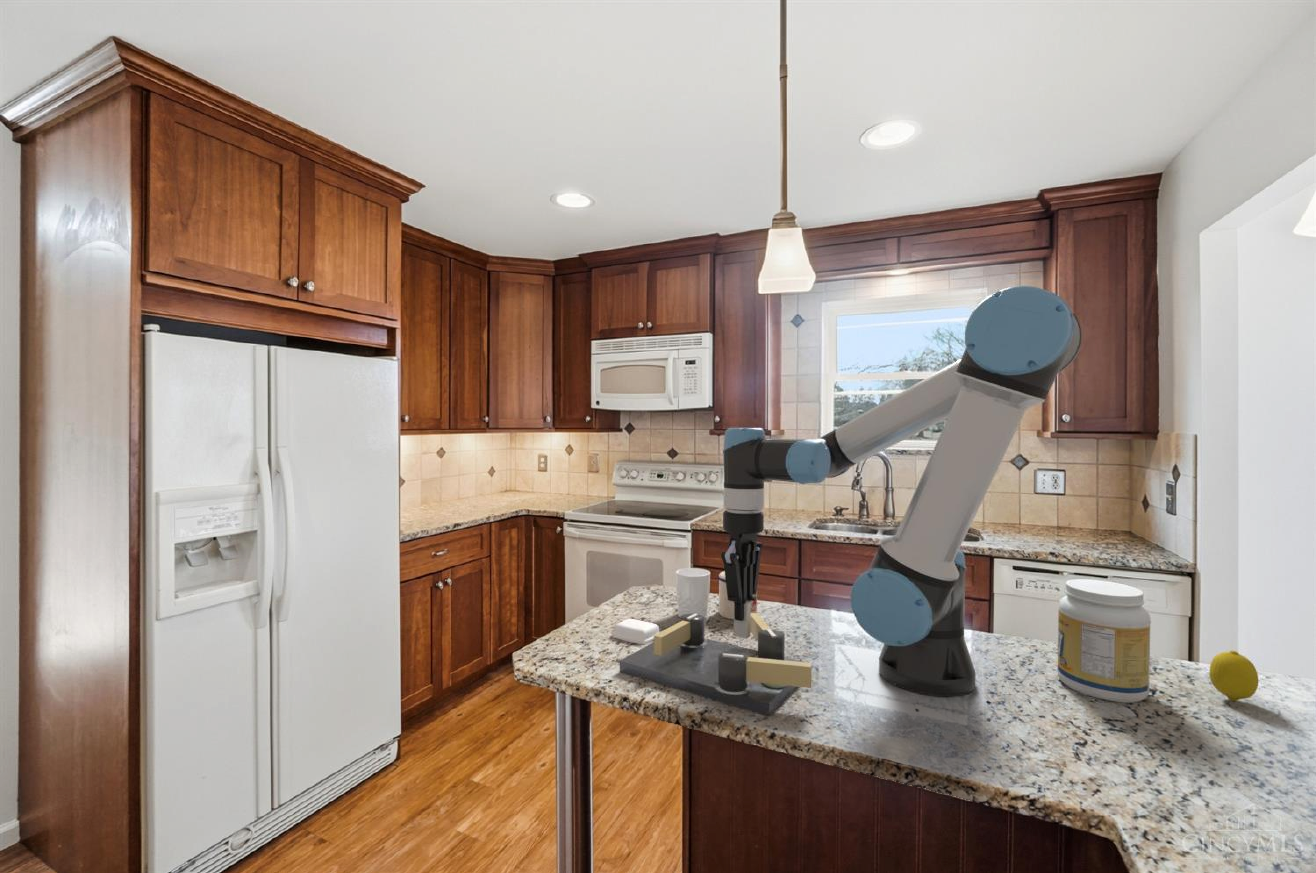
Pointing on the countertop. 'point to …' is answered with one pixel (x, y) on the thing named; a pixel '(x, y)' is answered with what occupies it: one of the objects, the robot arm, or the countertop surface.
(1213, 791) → the countertop surface
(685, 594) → the white cup
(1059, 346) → the robot arm
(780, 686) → the green domed button
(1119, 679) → the supplement tub
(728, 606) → the teacup with lid
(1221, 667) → the lemon
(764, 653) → the knob
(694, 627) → the knob
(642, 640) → the soap
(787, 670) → the knob
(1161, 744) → the countertop surface
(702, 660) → the dark grey knob panel
